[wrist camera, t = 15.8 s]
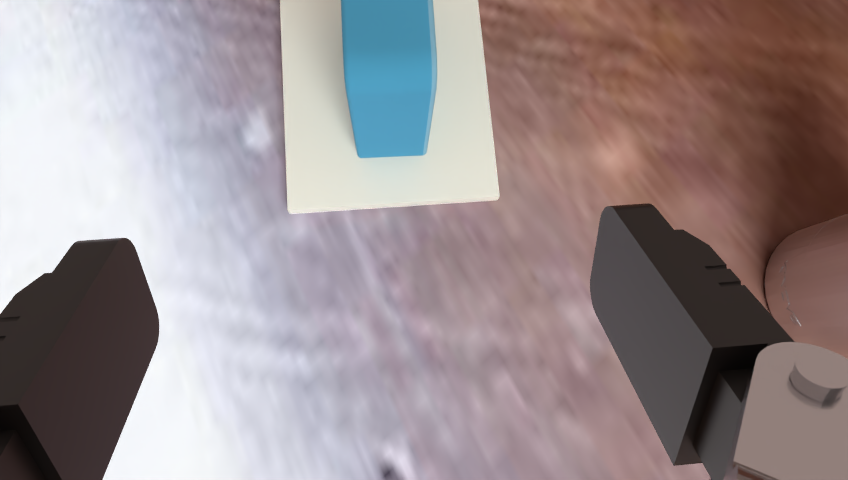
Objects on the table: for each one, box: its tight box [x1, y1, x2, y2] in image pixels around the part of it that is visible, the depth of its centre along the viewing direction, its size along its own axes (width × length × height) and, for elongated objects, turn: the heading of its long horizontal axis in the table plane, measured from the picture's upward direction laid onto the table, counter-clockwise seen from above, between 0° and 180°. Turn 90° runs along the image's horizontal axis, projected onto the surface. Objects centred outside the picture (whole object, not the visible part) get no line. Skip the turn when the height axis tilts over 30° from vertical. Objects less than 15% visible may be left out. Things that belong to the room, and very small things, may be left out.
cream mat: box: [280, 0, 500, 214], centre depth 42 cm, size 14×18×1 cm
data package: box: [341, 0, 437, 158], centre depth 35 cm, size 12×4×12 cm, turn 4°
